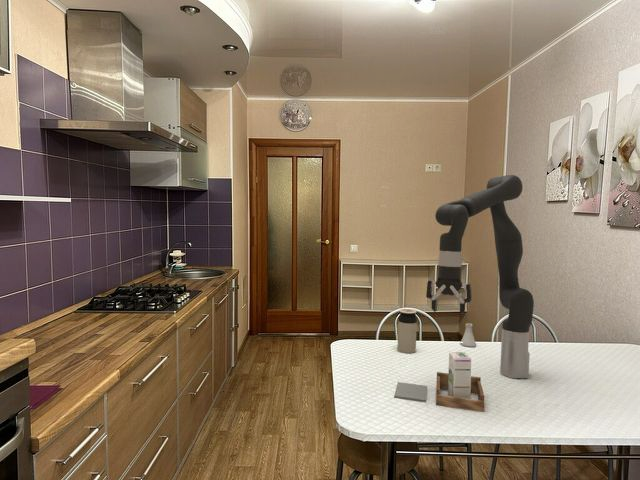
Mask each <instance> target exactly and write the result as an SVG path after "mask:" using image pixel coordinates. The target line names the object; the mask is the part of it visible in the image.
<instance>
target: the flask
mask: <svg viewBox="0 0 640 480" xmlns="http://www.w3.org/2000/svg"><path fill="white" fill-rule="evenodd" d="M473 326H474V325H473V324H472V323H467V322H466V323H465V330H464V334H463V336H462V339H461V340H460V342H459V344H460V345H461V346H462V347H467V348H476V347H477V343H476V340H475V337H474V333H473ZM461 342H463V343H461Z"/></svg>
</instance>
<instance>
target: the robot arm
mask: <svg viewBox="0 0 640 480" xmlns="http://www.w3.org/2000/svg"><path fill="white" fill-rule="evenodd" d="M522 192H523V183H522V180H521V178H520V177H519V176H517V175H515V174H508V175H501V176H496V177H495V176H494V177H491V178H490V179H488V181H487V183H486V189H483V190H480V191H477V192H473V193H471V194H469V195H467V196H464V197H462V198H460V199H458V200H453V201H449V202H447V203H444V204H442V205H440V206H439V207H438V208H437V210H436V212H435V220H436V222H437V224H439V225H441V226H443V227H444V226H447V227H450V229H449V231H448V232H444V233H441V235H440V236H439V251H438V259H437V279H436V280H433V279H429V280H428V281H427V284H426V294H425V295H426V296H425V297H426V298H427V299H430V300H431V310H433V312H437V309H438V300H437V298H438V297H440V295H441V294H442V295H443V296H445V295H449V296H455V297H456V298H457V299H458V301H459V302H460V303H459V315H461V316H462V315H463V314H465V311H466V303H470V302H471V301H472V284H471V283H470V282H469V283H462V269H463V268H462V267H463V266H462V263H463V256H462V255H463V254H462V246H463V237H464V235H465V231H466V229H467V225H468V221H469V218H471V217H475V216H476V215H478V214H480V213H482V212H484V211H485V210H487V209H490V214H491V219H492V220H491V221H492V227H493V232H494V233H493V234H494V235H493V236H494V244H495V252H496V258H497V259H496V261H497V270H498V291H499V292H498V296H499V302H500V304H501V305H502V306H503V308H505V309H507V310H508V317H507V318H506V319H504V320H503V321H502V324H501V344H500V346H501V347H500V365H499V366H500V367H499V368H500V371H499V372H500V375H502V376H505V377H508V378H511V379H517V378H523V379H529V375H530V373H529V371H530V354H531V353H530V352H529V342H530V328H531V326H532V323H533V315H534V305H535V304H534V303H535V302H534V301H535V299H534V296H533V294H532V292H530V290H527V289H525V288H522V287H520V284H519V275H518V274H519V267H520V264H521V262H522V258H523V255H524V254H523V253H524V249H523V238H522V233H521V232H520V230H519V229H518V227H517V226H516V225H515V223H514V222H513V221H512V219H511V218H510V217H509V215H508V212H507V211H506V206H505V205H506V204H505V202H506V201H507V202H508V201H512V200H516V199H518V198H519V197H520V196H521V194H522ZM435 286H436V287H437V291H435V293H434V294H433V293H432V292H433V287H435ZM462 288H463V289H464V291H465V293H466V296H465V297H466V298H465V297H464V296H463V293H462V292H461V291H460V290H461V289H462Z"/></svg>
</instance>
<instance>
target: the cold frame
mask: <svg viewBox="0 0 640 480" xmlns="http://www.w3.org/2000/svg"><path fill="white" fill-rule="evenodd" d="M448 375H449V372H441V371H436V387H435V389H436V391H435V393H436V394H435V406H440V407H441V406H442V407H448V408H453V409H454V408H456V409H462V410H468V411H475V412H483V413H484V412H485V393H484V389H483V386H482V378H481V377H480V376H473V375H471V394H473V395H476V396H477V399H473V398H470V399H468V398H460V397H453V396H448V395H445V394H440V393H441V392H440V391H441V390H444V391H448Z"/></svg>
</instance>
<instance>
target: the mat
mask: <svg viewBox="0 0 640 480" xmlns="http://www.w3.org/2000/svg"><path fill="white" fill-rule="evenodd" d="M427 395H428V385H423V384H418V383H417V384H416V383H415V384H414V383H408V382H403V381H402V382H401V381H397V384H396V389H395V392H394V395H393V398H395V399H402V400H408V401H415V402H421V403H427Z"/></svg>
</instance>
